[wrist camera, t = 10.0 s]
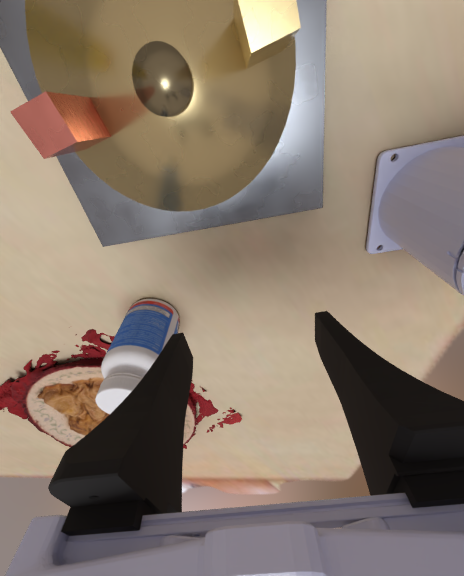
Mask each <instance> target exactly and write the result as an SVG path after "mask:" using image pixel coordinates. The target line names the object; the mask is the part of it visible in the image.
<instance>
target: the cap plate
mask: <svg viewBox="0 0 464 576" xmlns="http://www.w3.org/2000/svg"><path fill="white" fill-rule="evenodd" d="M296 1H297V7H298V13H299V19H300V25H301V28H300V30H299V31H298V32H297V33H296V35H295V46H296V71H295V84H294V92H293V97H292V103H291V108H290V112H289V115H288V118H287V122H286V125H285V128H284V131H283V133H282V136H281V138H280V140H279V143H278V145H277V147H276V149H275V150H274V152H273V154H272V156H271V158H270V159H269V161H268V162H267V163H266V165H265V166H264V168H263V169H262V171H261V172H260V173H259V174H258V175H257V176H256V177H255V178H254V180H253V181H252V182H251V183H250V184H248V185H247V186H246V187H245V188H244V189H243V190H241V191H240V192H239V193H237V194H236V195H234V196H233V197H231V198H230V199H228V200H226V201H224V202H222V203H220V204H217V205H215V206H212V207H208V208H205V209H201V210H195V211H181V212H177V211H166V210H161V209H157V208H152V207H149V206H146V205H143V204H141V203H138V202H136V201H134V200H132V199H130V198H128V197H126V196H124V195H122V194H121V193H119V192H118V191H116V190H114V189H113V188H111V187H110V186H109V185H108V184H106V183H105V182H104V181H102V180H101V179H100V178H99V177H98V176H97V175H96V174H95V173H93V172H92V171H91V170H90V169H89V168H88V167H87V166H86V165H85V163H84V162H83V161H82V160H81V159H80V158H79V157H78V155H77V154H76V153H75V152H73V153H68V154H64V155H59V156H57V158H58V160H59V162H60V164H61V166H62V168H63V170H64V172H65V174H66V176H67V178H68V180H69V182H70V184H71V185H72V187H73V189H74V191H75V193H76V195H77V197H78V199H79V201H80V203H81V205H82V207H83V209H84V211H85V213H86V215H87V217H88V218H89V220H90V222H91V224H92V226H93V228H94V230H95V232H96V234H97V236H98V238H99V240H100V242H101V244H102V246H103V247H104V246H110V245H115V244H121V243H127V242H132V241H138V240H144V239H149V238H155V237H160V236H166V235H172V234H177V233H183V232H189V231H194V230H200V229H206V228H211V227H217V226H222V225H228V224H234V223H239V222H245V221H251V220H256V219H262V218H268V217H273V216H279V215H284V214H290V213H296V212H301V211H307V210H313V209H318V208H323V157H324V104H325V51H326V0H296ZM0 48H1V50H2V51H3V53H4V55H5V57H6V59H7V61H8V63H9V65H10V67H11V69H12V71H13V73H14V75H15V77H16V79H17V81H18V83H19V84H20V86H21V88H22V90H23V92H24V94H25V96H26V98H27V100H28V101H30V100H31V99H33V98H35V97H37V96H38V95H40V94H42V92H41V89H40V87H39V84H38V81H37V78H36V75H35V71H34V67H33V63H32V60H31V56H30V50H29V44H28V38H27V31H26V15H25V0H0Z"/></svg>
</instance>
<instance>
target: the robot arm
mask: <svg viewBox="0 0 464 576" xmlns="http://www.w3.org/2000/svg"><path fill="white" fill-rule="evenodd" d="M393 154H395V155H396V156H395V159H394V160H392V161H391V156H392V155H393ZM379 245H381V247H380V248H378V249H377V247H378V246H379ZM401 249H404V250H405V251H407V252H408V253H409V254H410V255H412V256H413V257H414V258H416V259H417V260H418V261H419V262H421V263H422V264H423V265H425V266H426V267H427V268H428V269H430V270H431V271H432V272H434V273H435V274H436V275H438V276H439V277H440V278H441V279H443V280H444V281H445V282H447V283H448V284H449V285H450V286H452V287H453V288H454V289H456V290H457V291H458V292H459V293H461V294H462V295H464V135H463V136H458V137H453V138H448V139H442V140H437V141H432V142H427V143H422V144H417V145H412V146H407V147H402V148H396V149H391V150H386V151H383V152H382V153H381V154H380V155H379V156H378V159H377V166H376V174H375V181H374V189H373V197H372V205H371V213H370V221H369V229H368V237H367V244H366V250H367V252H368V253H370V254H375V253H381V252H388V251H394V250H401ZM315 342H316V345H317V348H318V351H319V354H320V357H321V360H322V362H323V364H324V366H325V369H326V371H327V373H328V375H329V377H330V380H331V382H332V384H333V386H334V388H335V390H336V393H337V395H338V397H339V400H340V402H341V404H342V407H343V410H344V413H345V416H346V419H347V422H348V425H349V428H350V431H351V434H352V437H353V440H354V443H355V446H356V449H357V452H358V455H359V459H360V462H361V465H362V468H363V472H364V475H365V478H366V481H367V485H368V488H369V492H370V495H371V496H362V497H350V498H339V499H327V500H315V501H305V502H292V503H281V504H270V505H258V506H246V507H235V508H223V509H212V510H200V511H189V512H182V507H181V506H182V504H181V503H182V460H183V440H184V426H185V417H186V410H187V404H188V398H189V393H190V387H191V380H192V372H193V356H192V354H191V351H190V349H189V346H188V344H187V341H186V339H185V336H184V334H183V333H178V334H172V336H171V337H170V339H169V340H168V342H167V343H166V345H165V346H164V348H163V350H162V351H161V353H160V354H159V356H158V357H157V359H156V360H155V362H154V363H153V365H152V366H151V367H150V369H149V370H148V371H147V373H146V374H145V375H144V377H143V378H142V379H141V381H140V382H139V383H138V385H137V386H136V387H135V388H134V389H133V391H132V392H131V393H130V394H129V395H128V396H127V397H126V398H125V399H124V400H123V402H122V403H121V404H120V405H119V406H118V407H117V408H116V409H115V410H114V411H113V412H112V413H111V414H110V415H109V416H107V417H106V418H105V419H104V420H103V421H102V422H101V423H100V424H99V425H98V426H96V427H95V428H94V429H93V430H92V431H91V432H89V433H88V434H87V435H86V436H85V437H83V438H82V439H81V440H80V441H78V442H77V443H76V444H74V445H73V446H72V447H71V448H69V449H68V450H67V451H66V452H65V454H64V456H63V458H62V460H61V462H60V464H59V466H58V468H57V470H56V472H55V474H54V476H53V478H52V480H51V482H50V484H49V491H50V493H51V494H52V495H53V496H54V497H56V498H57V499H59V500H60V501H62V502H64V503H65V504H67V505H68V506H70V507H71V508H70V510H69V513H68V515H67V516H63V515H52V516H43V517H42V516H41V517H35V518H33V519H32V521H31V523H30V525H29V527H28V529H27V531H26V533H25V535H24V537H23V539H22V541H21V543H20V545H19V547H18V550H17V551H16V554H15V556H14V558H13V560H12V562H11V564H10V566H9V568H8V570H7V572H6V574H5V576H464V401H462V400H460V399H458V398H455V397H453V396H451V395H448V394H446V393H444V392H442V391H440V390H437V389H436V388H433V387H432V386H430V385H428V384H425V383H424V382H422V381H420V380H418V379H416V378H414V377H413V376H411V375H409V374H407V373H406V372H404V371H402V370H400V369H399V368H397V367H396V366H394V365H392V364H391V363H389V362H388V361H386V360H385V359H383V358H382V357H380V356H379V355H378V354H376V353H375V352H373V351H372V350H371V349H369V348H368V347H367V346H366V345H364V344H363V343H362V342H361V341H359V340H358V339H357V338H356V337H355V336H353V335H352V334H351V333H350V332H349V331H348V330H347V329H345V328H344V327H343V326H342V325H341V324H340V323H339V322H338V321H337V320H336V319H335V318H334V317H333V316H332V315H331V314H330V313H329V312H327V311H324V312H318V313H315ZM341 527H342V528H341Z"/></svg>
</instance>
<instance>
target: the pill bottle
mask: <svg viewBox="0 0 464 576" xmlns="http://www.w3.org/2000/svg"><path fill="white" fill-rule="evenodd" d="M178 329H179V316H178V313H177V312H176V310H175V309H174V308H173V307H172V306H171V305H169V304H168V303H166V302H164V301H161V300H157V299H143V300H140V301H137V302H136V303H134V304H133V305H132V306H131V307H130V309H129V311H128V312H127V314H126V316H125V318H124V320H123V322H122V324H121V326H120V328H119V330H118V332H117V334H116V336H115V338H114V340H113V341H112V343H111V345H110V347H109V349H108V351H107V353H106V355H105V357H104V359H103V361H102V365H101V371H102V375H103V377H104V380H103V382H102V383H101V385H100V388H99V391H98V393H97V395H96V399H95V400H96V404H97V406H98V407H99V408H100V409H101V410H103V411H104V412H106V413H108V414H111V413H112V412H113V411H114V410H115V409H116V408H117V407H118V406H119V405H120V404H121V403H122V402H123V400H124V399H125V398H126V397H127V396H128V395H129V394H130V393H131V392H132V391H133V389H134V388H135V387H136V386H137V385H138V383H139V382H140V381H141V379H142V378H143V377H144V375H145V374H146V373H147V371H148V370H149V369H150V367H151V366H152V365H153V363H154V362H155V360H156V359H157V357H158V356H159V354H160V353H161V351H162V350H163V348H164V346H165V345H166V343H167V342H168V340H169V339H170V337H171V336H172V334H177V333H178Z"/></svg>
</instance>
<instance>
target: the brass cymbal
mask: <svg viewBox="0 0 464 576" xmlns="http://www.w3.org/2000/svg"><path fill="white" fill-rule="evenodd" d="M25 15H26V31H27V38H28V44H29V50H30V56H31V60H32V63H33V67H34V71H35V75H36V78H37V81H38V84H39V87H40V89H41V92H42V94H40V95H38V96H37V97H35V98H33V99H31V100H30V101H28V102H26V103H25V104H23V105H21V106H19V107H18V108H16V109H14V110H12V111H11V114H12V115H13V116H14V118H15V119H16V121H17V122H18V123H19V125H20V126H21V127H22V129H23V130H24V132H25V133H26V134H27V136H28V137H29V139H30V140H31V141H32V143H33V144H34V146H35V147H36V148H37V150H38V151H39V152H40V154H41V155H42V157H43V158H44V159H45V158H50V157H54V156H59V155H64V154H68V153H73V152H75V153H76V154H77V155H78V157H79V158H80V159H81V160H82V161H83V162H84V163H85V165H86V166H87V167H88V168H89V169H90V170H91V171H92V172H93V173H95V174H96V175H97V176H98V177H99V178H100V179H101V180H102V181H104V182H105V183H106V184H108V185H109V186H110V187H111V188H113V189H114V190H116V191H118V192H119V193H121V194H122V195H124V196H126V197H128V198H130V199H132V200H134V201H136V202H138V203H141V204H143V205H146V206H149V207H152V208H157V209H161V210H166V211H177V212H181V211H195V210H201V209H205V208H208V207H212V206H215V205H217V204H220V203H222V202H224V201H226V200H228V199H230V198H231V197H233V196H234V195H236V194H237V193H239V192H240V191H241V190H243V189H244V188H245V187H246V186H247V185H248V184H250V183H251V182H252V181H253V180H254V178H255V177H256V176H257V175H258V174H259V173H260V172H261V171H262V169H263V168H264V166H265V165H266V163H267V162H268V161H269V159H270V158H271V156H272V154H273V152H274V150H275V149H276V147H277V145H278V143H279V140H280V138H281V136H282V133H283V131H284V128H285V125H286V122H287V118H288V115H289V112H290V108H291V103H292V97H293V92H294V84H295V71H296V46H295V35H296V33H297V32H298V31H299V30H300V28H301V25H300V19H299V13H298V7H297V1H296V0H25Z"/></svg>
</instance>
